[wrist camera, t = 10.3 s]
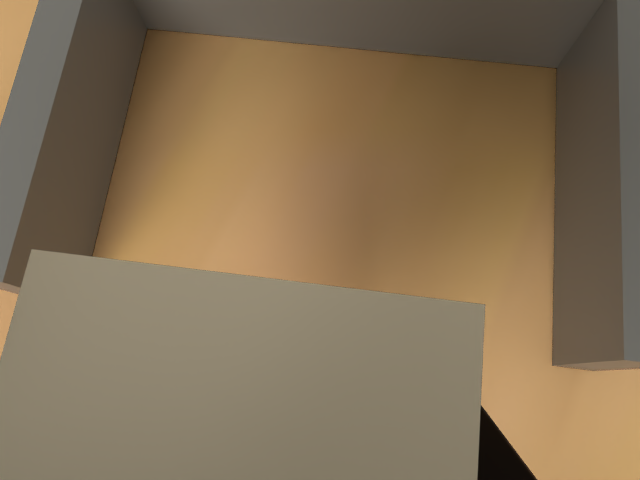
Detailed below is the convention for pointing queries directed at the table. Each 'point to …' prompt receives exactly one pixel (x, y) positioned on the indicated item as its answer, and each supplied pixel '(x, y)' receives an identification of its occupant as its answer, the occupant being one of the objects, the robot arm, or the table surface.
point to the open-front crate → (358, 33)
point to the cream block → (233, 378)
